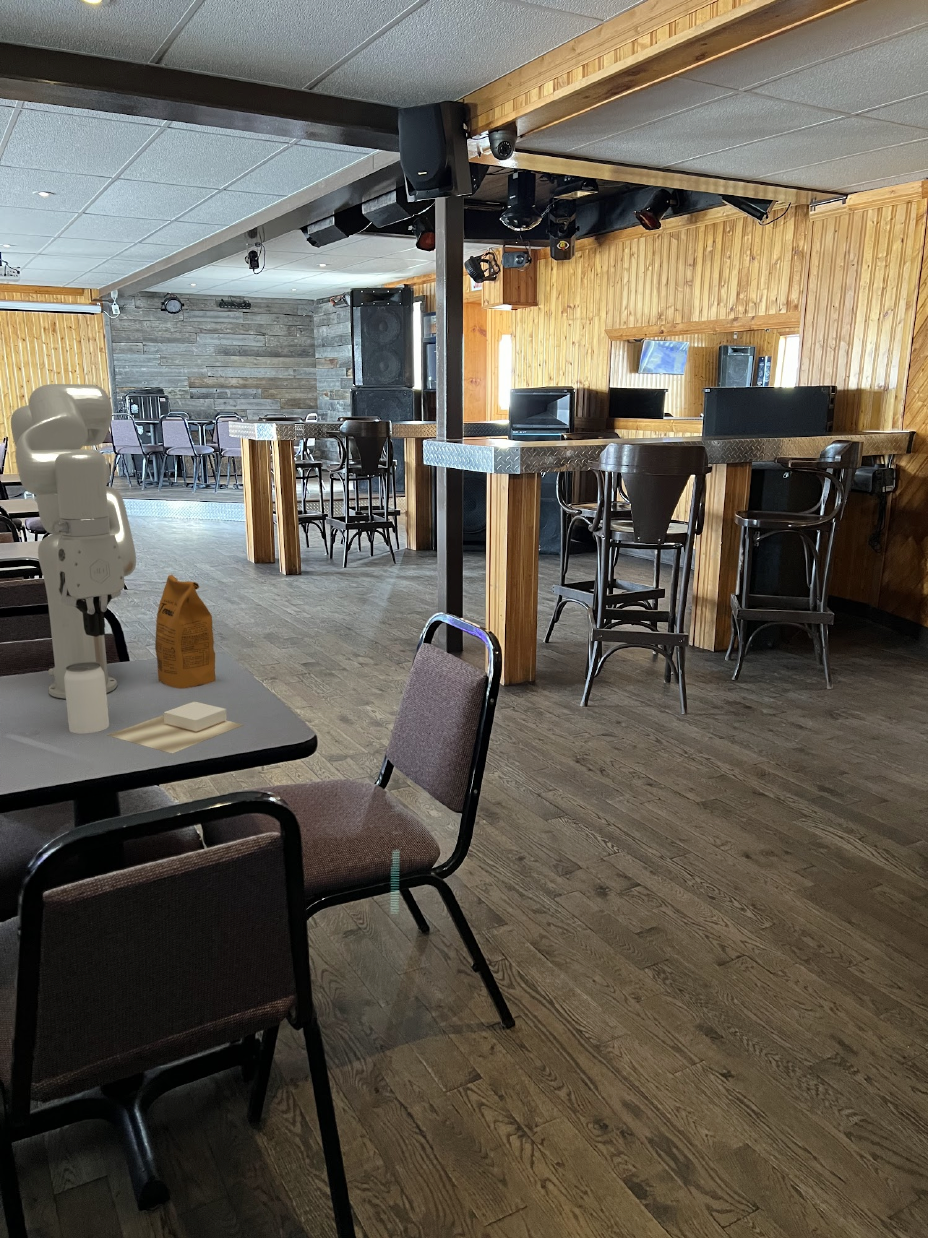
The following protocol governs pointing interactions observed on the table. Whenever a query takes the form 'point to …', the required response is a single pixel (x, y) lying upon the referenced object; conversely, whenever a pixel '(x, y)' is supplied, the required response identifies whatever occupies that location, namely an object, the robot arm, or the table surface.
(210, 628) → the coffee package
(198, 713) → the tile
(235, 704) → the table surface
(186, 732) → the cloth
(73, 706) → the can
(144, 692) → the table surface
